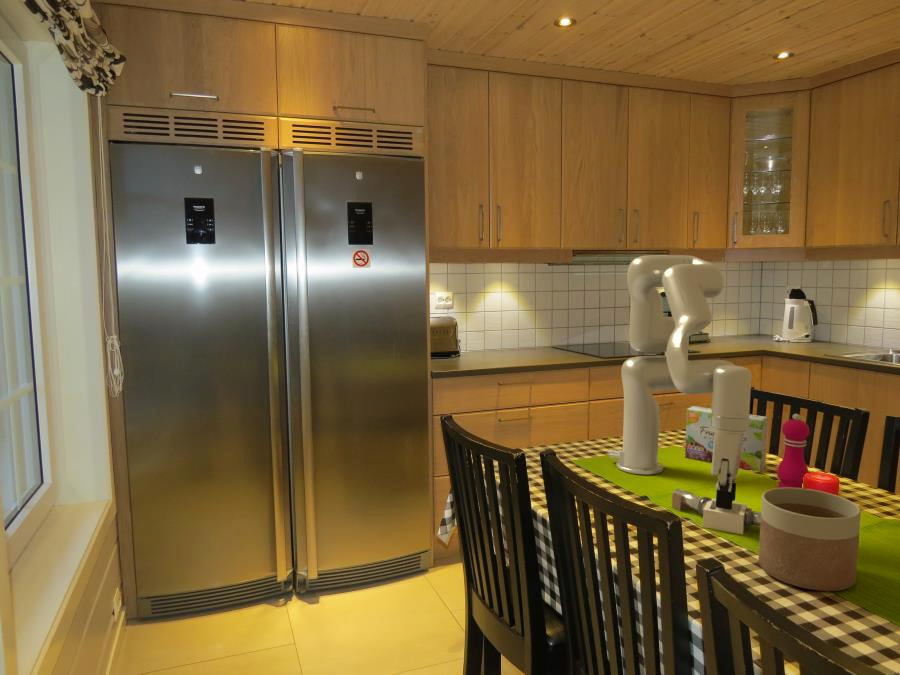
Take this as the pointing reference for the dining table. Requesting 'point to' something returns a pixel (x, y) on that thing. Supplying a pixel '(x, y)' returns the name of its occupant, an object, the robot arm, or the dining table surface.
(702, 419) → the snack box
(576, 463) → the dining table surface
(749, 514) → the shaft
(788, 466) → the pepper mill
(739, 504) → the cream open box
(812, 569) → the planter
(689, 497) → the shaft
